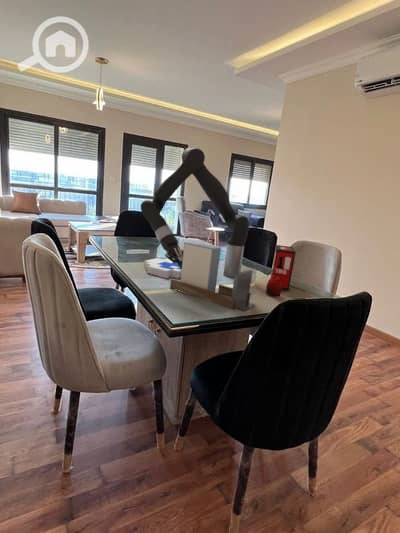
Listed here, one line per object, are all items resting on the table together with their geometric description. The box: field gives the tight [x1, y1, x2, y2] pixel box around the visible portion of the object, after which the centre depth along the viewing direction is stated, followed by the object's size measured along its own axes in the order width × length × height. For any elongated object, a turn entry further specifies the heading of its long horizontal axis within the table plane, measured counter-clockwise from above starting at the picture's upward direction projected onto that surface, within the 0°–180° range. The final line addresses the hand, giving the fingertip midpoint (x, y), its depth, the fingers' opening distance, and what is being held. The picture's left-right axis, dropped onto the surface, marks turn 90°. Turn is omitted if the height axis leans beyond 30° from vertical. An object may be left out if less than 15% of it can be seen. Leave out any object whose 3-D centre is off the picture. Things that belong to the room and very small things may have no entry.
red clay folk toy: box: [265, 266, 282, 298], centre depth 146 cm, size 8×7×15 cm
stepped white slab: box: [143, 257, 181, 279], centre depth 170 cm, size 28×4×28 cm
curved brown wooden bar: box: [169, 278, 252, 310], centre depth 137 cm, size 12×33×4 cm, turn 56°
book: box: [179, 241, 222, 292], centre depth 138 cm, size 6×15×21 cm, turn 55°
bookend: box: [229, 269, 256, 313], centre depth 126 cm, size 13×6×14 cm, turn 146°
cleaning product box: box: [269, 244, 297, 292], centre depth 163 cm, size 16×9×20 cm, turn 168°
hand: (184, 269), depth 143 cm, fingers closed
